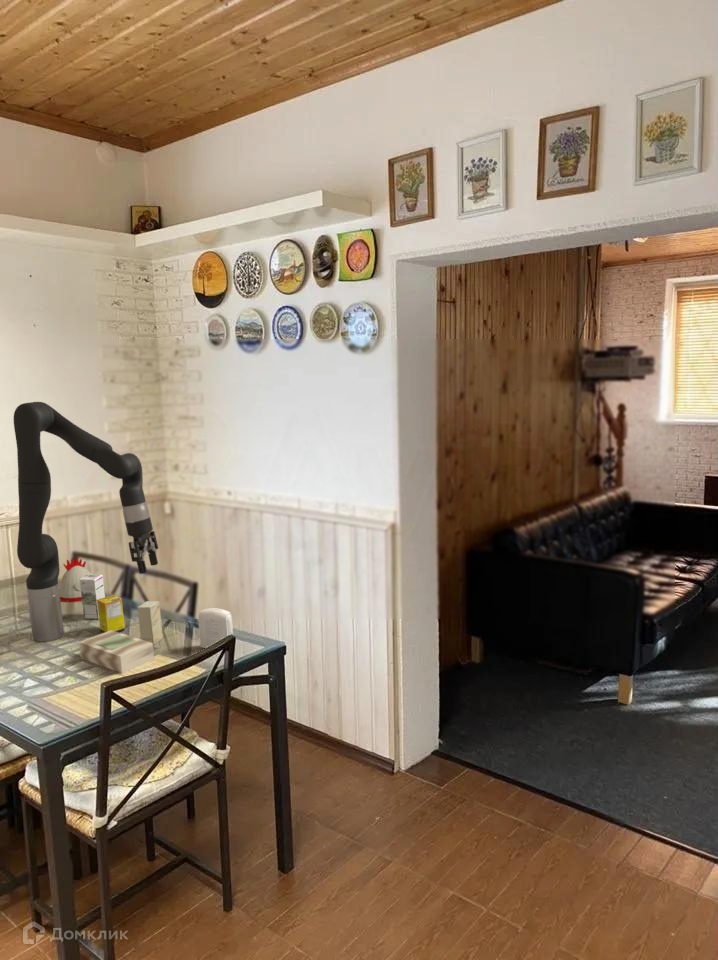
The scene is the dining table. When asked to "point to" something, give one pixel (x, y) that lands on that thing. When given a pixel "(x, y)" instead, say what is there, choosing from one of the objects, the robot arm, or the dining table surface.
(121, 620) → the supplement box
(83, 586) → the syrup box
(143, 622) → the skincare box
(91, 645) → the step block
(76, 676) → the dining table surface
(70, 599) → the kitchen timer
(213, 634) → the photo printer
